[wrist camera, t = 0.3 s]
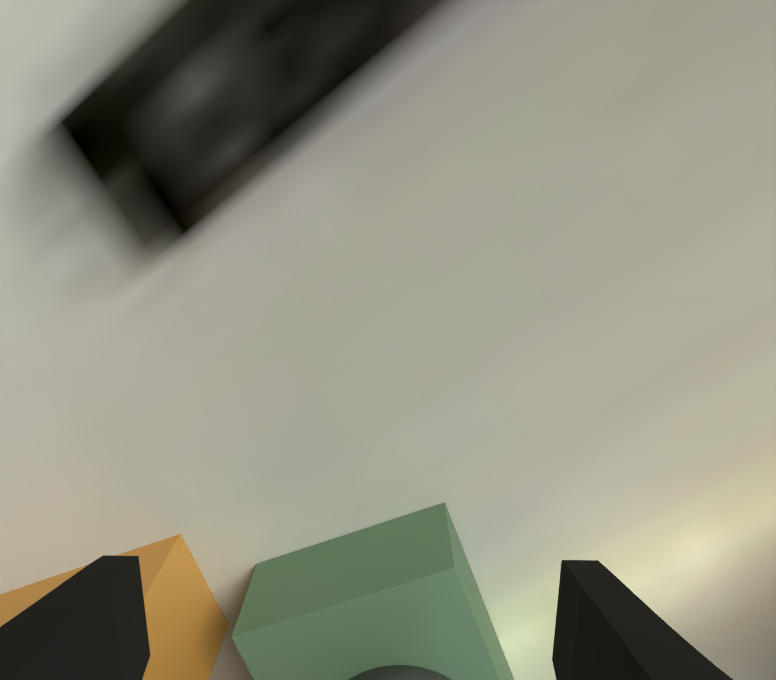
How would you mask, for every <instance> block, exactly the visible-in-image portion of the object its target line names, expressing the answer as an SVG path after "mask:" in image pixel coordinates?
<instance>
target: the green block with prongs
mask: <svg viewBox="0 0 776 680" xmlns="http://www.w3.org/2000/svg"><path fill="white" fill-rule="evenodd" d="M231 638H232V640H233V642H234V644H235V645H236V647H237V649H238V651H239V653H240V655H241V657H242V659H243V660H244V662H245V664H246V666H247V668H248V670H249V672H250V674H251V675H252V677H253V679H254V680H514V678H513V676H512V673H511V671H510V668H509V666H508V663H507V661H506V658H505V656H504V653H503V650H502V648H501V645H500V643H499V640H498V638H497V635H496V633H495V630H494V628H493V625H492V622H491V620H490V617H489V615H488V612H487V610H486V607H485V605H484V602H483V599H482V597H481V594H480V592H479V589H478V587H477V584H476V582H475V579H474V577H473V574H472V571H471V569H470V566H469V564H468V561H467V559H466V556H465V554H464V551H463V549H462V546H461V543H460V541H459V538H458V536H457V533H456V531H455V528H454V526H453V523H452V521H451V518H450V515H449V513H448V510H447V508H446V505H445V503H443V504H440V505H437V506H434V507H431V508H427V509H424V510H421V511H418V512H415V513H412V514H409V515H406V516H403V517H400V518H397V519H394V520H391V521H388V522H385V523H381V524H378V525H375V526H372V527H369V528H366V529H363V530H360V531H357V532H354V533H351V534H348V535H345V536H342V537H339V538H335V539H332V540H329V541H326V542H323V543H320V544H317V545H314V546H311V547H308V548H305V549H302V550H299V551H296V552H292V553H289V554H286V555H283V556H280V557H277V558H274V559H271V560H268V561H265V562H262V563H259V564H256V566H255V569H254V572H253V575H252V578H251V581H250V584H249V587H248V590H247V593H246V596H245V599H244V602H243V605H242V608H241V611H240V614H239V617H238V620H237V622H236V625H235V628H234V631H233V634H232V637H231Z"/></svg>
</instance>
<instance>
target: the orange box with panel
mask: <svg viewBox="0 0 776 680" xmlns="http://www.w3.org/2000/svg"><path fill="white" fill-rule="evenodd" d="M117 556H139V563H140V572H141V580H142V588H143V597H144V605H145V613H146V622H147V630H148V638H149V647H150V658H149V661H148V664H147V667H146V670H145V673H144V676H143V679H142V680H209V678H210V675H211V672H212V669H213V666H214V664H215V661H216V658H217V655H218V652H219V650H220V647H221V644H222V641H223V638H224V636H225V633H226V630H227V627H228V622H227V621H226V619H225V617H224V615H223V613H222V611H221V609H220V607H219V605H218V604H217V602H216V600H215V598H214V596H213V594H212V592H211V590H210V589H209V587H208V585H207V583H206V581H205V579H204V577H203V575H202V573H201V572H200V570H199V568H198V566H197V564H196V562H195V560H194V558H193V557H192V555H191V553H190V551H189V549H188V547H187V545H186V543H185V541H184V540H183V538H182V536H181V534H179V535H176V536H173V537H170V538H167V539H164V540H161V541H158V542H155V543H152V544H149V545H146V546H143V547H140V548H137V549H135V550H132V551H129V552H126V553H123V554H120V555H117ZM87 566H88V565H87ZM85 567H86V566H84V567H81V568H78V569H75V570H72V571H69V572H66V573H63V574H60V575H57V576H54V577H51V578H48V579H45V580H42V581H39V582H36V583H33V584H30V585H27V586H24V587H21V588H18V589H15V590H13V591H10V592H7V593H4V594H1V595H0V627H1V626H2V625H4V624H5V623H6V622H8V621H9V620H11V619H12V618H14V617H15V616H16V615H18V614H19V613H21V612H22V611H24V610H25V609H26V608H28V607H29V606H31V605H32V604H34V603H35V602H36V601H38V600H39V599H41V598H42V597H44V596H45V595H46V594H48V593H49V592H51V591H52V590H53V589H55V588H56V587H58V586H59V585H60V584H62V583H63V582H65V581H66V580H67V579H69V578H70V577H72V576H73V575H75V574H76V573H77V572H79V571H80V570H82V569H83V568H85Z"/></svg>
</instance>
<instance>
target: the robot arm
mask: <svg viewBox="0 0 776 680" xmlns="http://www.w3.org/2000/svg"><path fill="white" fill-rule="evenodd" d="M149 658H150V647H149V638H148V630H147V622H146V613H145V605H144V597H143V588H142V580H141V572H140V563H139V556H102V557H100V558H99V559H97V560H95V561H94V562H92V563H91V564H89V565H88V566H86V567H85V568H83V569H82V570H80V571H79V572H77V573H76V574H75V575H73V576H72V577H70V578H69V579H67V580H66V581H65V582H63V583H62V584H60V585H59V586H58V587H56V588H55V589H53V590H52V591H51V592H49V593H48V594H46V595H45V596H44V597H42V598H41V599H39V600H38V601H36V602H35V603H34V604H32V605H31V606H29V607H28V608H26V609H25V610H24V611H22V612H21V613H19V614H18V615H16V616H15V617H14V618H12V619H11V620H9V621H8V622H6V623H5V624H4V625H2V626H1V627H0V680H142V679H143V676H144V673H145V670H146V667H147V664H148V661H149ZM552 661H553V665H554V670H555V675H556V679H557V680H733V679H731V678H730V677H729V676H728V675H726V674H725V673H724V672H723V671H721V670H720V669H719V668H718V667H716V666H715V665H714V664H713V663H712V662H710V661H709V660H708V659H707V658H706V657H704V656H703V655H702V654H701V653H700V652H698V651H697V650H696V649H695V648H694V647H693V646H692V645H690V644H689V643H688V642H687V641H686V640H685V639H683V638H682V637H681V636H680V635H679V634H678V633H677V632H676V631H674V630H673V629H672V628H671V627H670V626H669V625H668V624H667V623H665V622H664V621H663V620H662V619H661V618H660V617H659V616H658V615H657V614H655V613H654V612H653V611H652V610H651V609H650V608H649V607H648V606H647V605H646V604H645V603H644V602H642V601H641V600H640V599H639V598H638V597H637V596H636V595H635V594H634V593H633V592H632V591H631V590H630V589H628V588H627V587H626V586H625V585H624V584H623V583H622V582H621V581H620V580H619V579H618V578H617V577H616V576H615V575H613V574H612V573H611V572H610V571H609V570H608V569H607V568H606V567H605V566H603V565H602V564H601V563H600V562H599V561H589V560H562V563H561V574H560V584H559V595H558V605H557V615H556V626H555V636H554V647H553V657H552Z"/></svg>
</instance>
